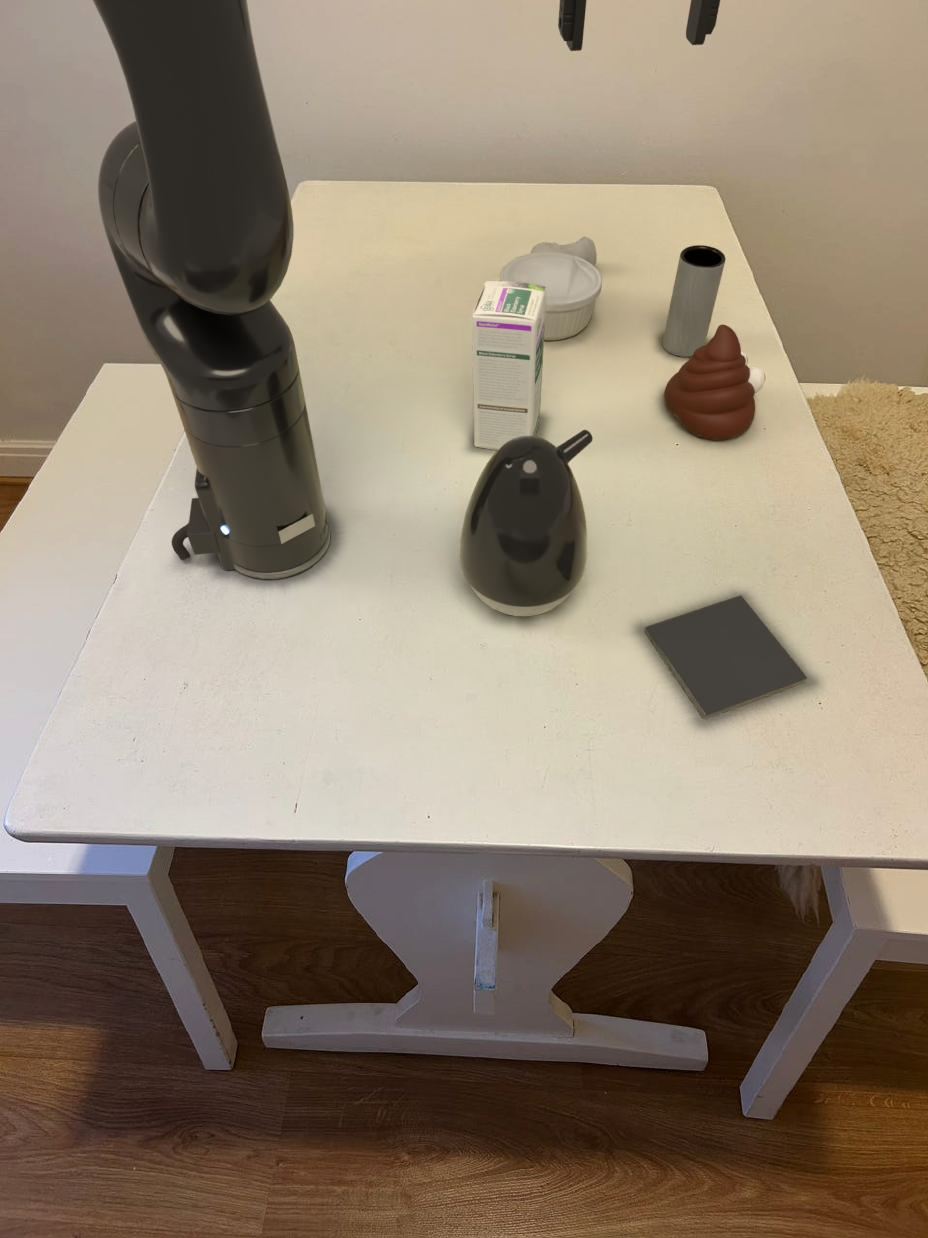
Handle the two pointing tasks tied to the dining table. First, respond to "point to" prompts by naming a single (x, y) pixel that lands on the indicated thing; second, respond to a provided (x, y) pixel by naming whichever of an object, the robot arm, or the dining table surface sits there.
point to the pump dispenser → (526, 527)
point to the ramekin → (559, 289)
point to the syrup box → (507, 361)
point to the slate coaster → (724, 656)
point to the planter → (693, 299)
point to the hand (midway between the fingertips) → (633, 44)
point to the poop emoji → (715, 389)
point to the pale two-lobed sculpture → (571, 249)
